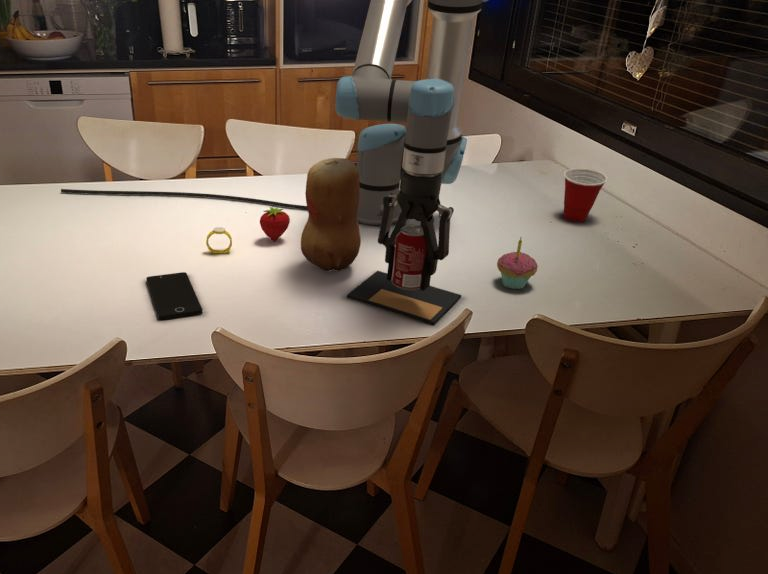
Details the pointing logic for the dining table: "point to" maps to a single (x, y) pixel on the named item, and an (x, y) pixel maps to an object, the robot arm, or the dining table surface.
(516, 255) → the cupcake
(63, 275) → the dining table surface
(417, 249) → the soda can
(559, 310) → the dining table surface
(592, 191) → the plastic cup
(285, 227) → the strawberry
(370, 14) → the robot arm
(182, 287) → the cell phone
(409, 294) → the mat
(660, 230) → the dining table surface
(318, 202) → the butternut squash
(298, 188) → the dining table surface
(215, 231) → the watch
